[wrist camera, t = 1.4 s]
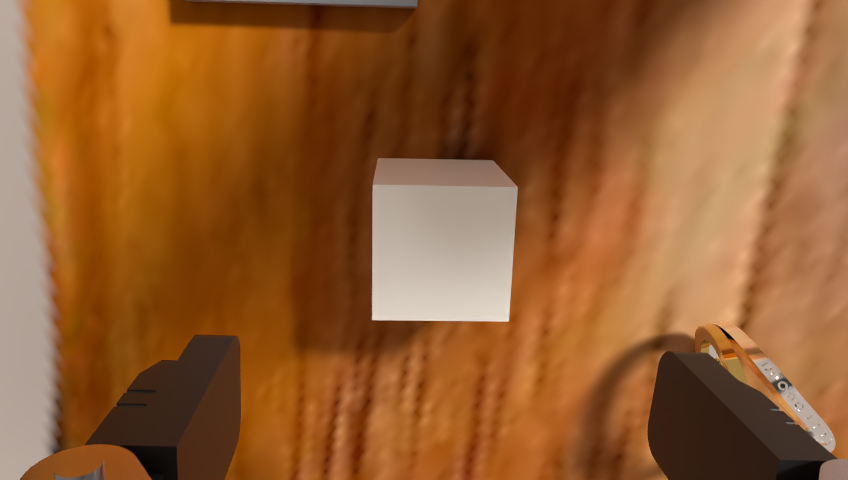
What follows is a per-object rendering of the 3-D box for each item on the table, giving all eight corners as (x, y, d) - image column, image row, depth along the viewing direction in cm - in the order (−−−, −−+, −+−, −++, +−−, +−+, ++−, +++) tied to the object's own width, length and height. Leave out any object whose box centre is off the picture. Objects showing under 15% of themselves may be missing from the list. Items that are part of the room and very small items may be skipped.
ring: (746, 412, 32) (857, 526, 24) (683, 430, 32) (774, 549, 24) (724, 287, 30) (837, 367, 22) (657, 306, 30) (746, 392, 22)
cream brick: (493, 160, 28) (517, 187, 22) (487, 269, 29) (508, 321, 23) (377, 157, 28) (372, 184, 22) (377, 267, 29) (371, 320, 23)
